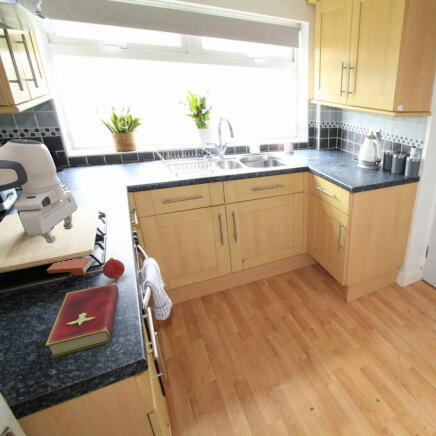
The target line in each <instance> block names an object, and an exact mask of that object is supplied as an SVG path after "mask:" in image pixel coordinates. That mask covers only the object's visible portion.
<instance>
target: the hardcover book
mask: <svg viewBox="0 0 436 436" xmlns="http://www.w3.org/2000/svg"><path fill="white" fill-rule="evenodd" d="M119 291H120V290H119V287H118V285H117V284H116V283H115V282H113V283H108V284H103V285H98V286H94V287H89V288H83V289H79V290H74V291H69V292H66V294H65V297H64V299H63V301H62V304H61V306H60V308H59V311H58V313H57V316H56V318H55V321H54V324H53V326H52V328H51V331H50V333H49V336H48V338H47V340H46V343H45V347H46V348H47V347H49V349H50V351H51V354H50V358H51V359H53V358H56V357H61V356H63V355H68V354H71V353H75V352H78V351H82V350H87V349H90V348H94V347H97V346H102V345H105V344H109V343H111V339H112V333H113V327H114V321H115V316H116V309H117V304H118V299H119V293H120V292H119Z"/></svg>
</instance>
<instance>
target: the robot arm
mask: <svg viewBox="0 0 436 436" xmlns="http://www.w3.org/2000/svg"><path fill="white" fill-rule="evenodd" d="M19 187H21V188H22V192H21V194H20V195H19V197H18V199H16V201H15V202H14V204H13V206H14V209H15V210H16V211H19V214H18V216H19V220H20V223H21V225H22V227H23V229H24V232H25V233H26V234H27V235H28V236H30V237H31V236H33V237H34V236H41V237H42V238H43V239H44V240H45V242H46V243H47V244H53V243H55V242H56V241H57V238H56V236H55V235H52V234H51V233H52V232H51V230H52V229H53V228H55V227H57V225H59V224H60V223H61V222H62V221H63V225H62V226H63V228H64V230H67V231H68V230H71V229H72V228H73V227H74V226H73V215H72V214H74V213H75V212H76V211H78V204H77V201H76V199H75V197H74V195H73V192H72V191H70V190H69V188H68V187H67V186H66V185H63V184H62V182H61V180H60V178H59V177H58V175H57V166H56V164H55V162H54V158H53V156H52V155H51V153H50V150H49V148H48V147H47V146H46V145H45V144H44V143H43V142H41V141H38V140H34V139H27V138H16V139H10V140H7V142H6V143H5V144H3V145H2V146H0V193H2V192H5V191H9V190H13V189H16V188H19Z"/></svg>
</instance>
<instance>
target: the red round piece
mask: <svg viewBox="0 0 436 436" xmlns="http://www.w3.org/2000/svg"><path fill="white" fill-rule="evenodd" d="M125 270H126V269H125V264H124V263H123V262H122V261H120V260H119V259H115V258H114V257H112V256H111V257H110V258H109V259H108V260H107V261H106V262H105V263H104V265H103V266H102V273H103V275H104V276H105V277H106V278H108V279H111V280H119V279H120V277H122V276H123V274H124V273H125Z"/></svg>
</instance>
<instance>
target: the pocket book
mask: <svg viewBox="0 0 436 436" xmlns="http://www.w3.org/2000/svg"><path fill="white" fill-rule="evenodd" d="M71 259H72V260H68V261H62V262H57V263H55V262H53V264H51V265H50V266H49V267H48V268H47V269H46V271H47V272H46V273H47V274H55V273H68V274H67V275H75V276H74V277H78V276H77V275H81V276H80V277H82V276H85V275H86V274H85V272H86V270H87V269H88V268H89V267H90V265H91V264H93V262H92V257H83V258H82V257H81V258H71Z"/></svg>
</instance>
